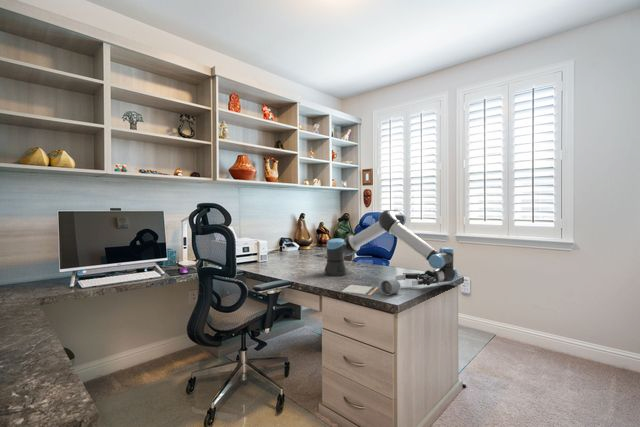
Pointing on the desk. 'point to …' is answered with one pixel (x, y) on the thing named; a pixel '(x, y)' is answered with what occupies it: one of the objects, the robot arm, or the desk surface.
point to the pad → (357, 289)
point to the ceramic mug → (390, 287)
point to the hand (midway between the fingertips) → (403, 280)
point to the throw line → (373, 291)
